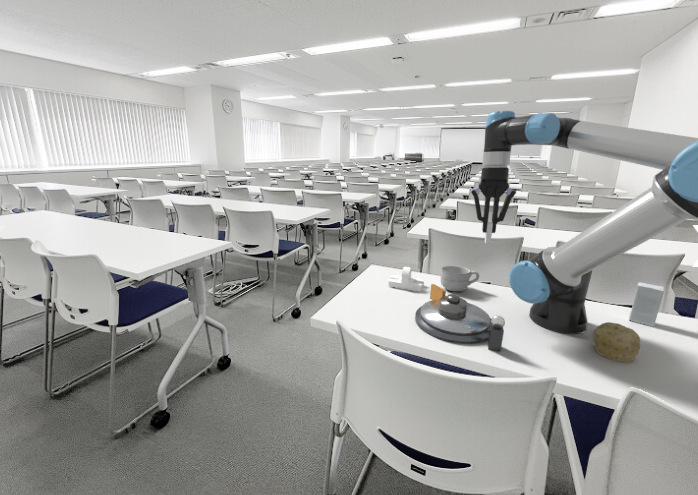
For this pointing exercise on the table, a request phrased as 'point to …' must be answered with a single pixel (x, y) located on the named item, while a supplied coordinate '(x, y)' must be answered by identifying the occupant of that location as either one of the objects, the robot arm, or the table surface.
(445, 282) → the teacup
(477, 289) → the table surface
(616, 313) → the table surface
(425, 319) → the turntable
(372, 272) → the table surface
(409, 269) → the slotted bracket
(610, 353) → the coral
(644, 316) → the skincare box
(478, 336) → the turntable base
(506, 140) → the robot arm
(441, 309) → the cover
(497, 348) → the dark bottle
